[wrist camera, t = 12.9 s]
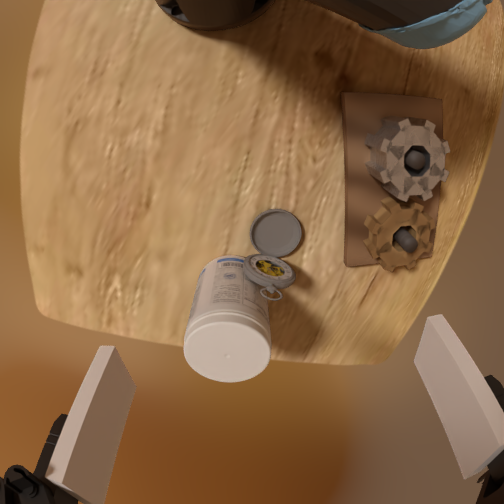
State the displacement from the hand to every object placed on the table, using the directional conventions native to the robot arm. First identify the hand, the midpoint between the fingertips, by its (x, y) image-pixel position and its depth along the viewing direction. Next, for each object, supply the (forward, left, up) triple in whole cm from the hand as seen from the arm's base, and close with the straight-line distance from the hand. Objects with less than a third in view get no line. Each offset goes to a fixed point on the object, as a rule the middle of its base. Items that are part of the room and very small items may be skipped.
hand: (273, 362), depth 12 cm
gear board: (+1, +18, -29) cm, 34 cm away
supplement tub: (+14, -5, -29) cm, 32 cm away
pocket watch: (+8, +1, -29) cm, 30 cm away
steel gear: (-3, +18, -27) cm, 33 cm away
